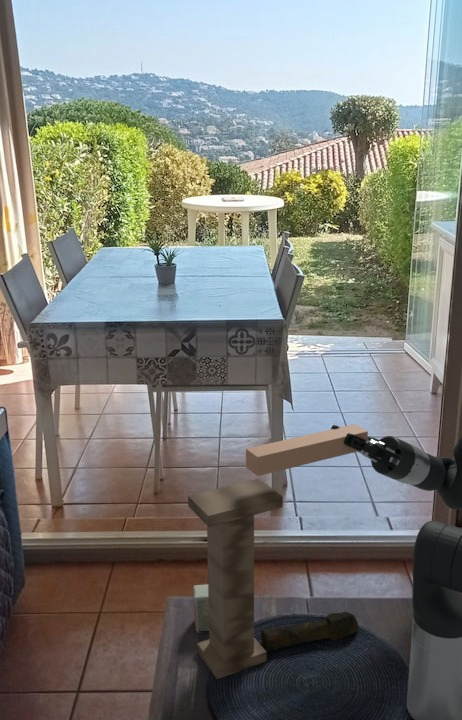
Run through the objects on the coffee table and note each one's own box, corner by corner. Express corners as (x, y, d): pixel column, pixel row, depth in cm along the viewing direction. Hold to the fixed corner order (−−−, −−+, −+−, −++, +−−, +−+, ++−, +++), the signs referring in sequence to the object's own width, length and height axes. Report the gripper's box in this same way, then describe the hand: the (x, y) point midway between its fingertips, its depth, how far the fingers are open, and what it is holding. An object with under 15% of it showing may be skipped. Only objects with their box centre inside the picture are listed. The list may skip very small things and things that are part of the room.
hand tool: (265, 657, 133) (265, 635, 132) (259, 643, 137) (259, 622, 136) (362, 641, 137) (363, 620, 136) (354, 628, 141) (355, 607, 140)
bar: (353, 441, 137) (354, 424, 136) (367, 449, 133) (367, 431, 132) (246, 467, 126) (245, 448, 125) (257, 476, 123) (257, 457, 122)
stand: (258, 631, 140) (259, 478, 131) (280, 655, 133) (282, 496, 124) (192, 654, 134) (187, 495, 125) (211, 681, 127) (208, 515, 118)
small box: (219, 617, 144) (219, 582, 142) (221, 631, 140) (221, 595, 138) (194, 619, 144) (193, 584, 141) (195, 633, 140) (194, 597, 137)
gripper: (385, 431, 147) (325, 403, 138) (435, 456, 135) (372, 428, 126) (369, 465, 147) (308, 439, 138) (417, 493, 135) (353, 467, 126)
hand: (339, 434), depth 132 cm, fingers closed on bar, 4 cm apart
